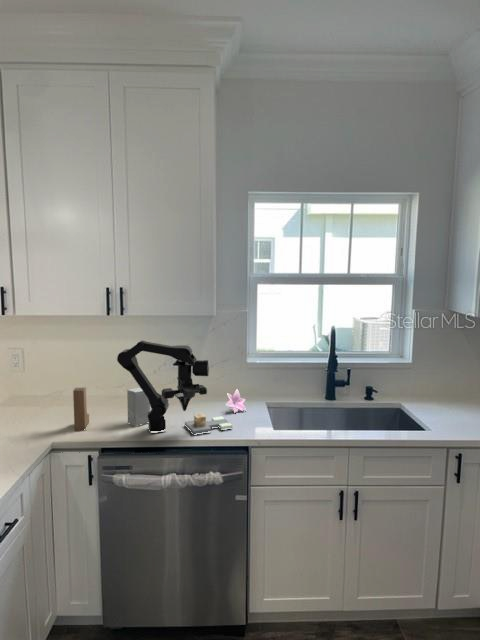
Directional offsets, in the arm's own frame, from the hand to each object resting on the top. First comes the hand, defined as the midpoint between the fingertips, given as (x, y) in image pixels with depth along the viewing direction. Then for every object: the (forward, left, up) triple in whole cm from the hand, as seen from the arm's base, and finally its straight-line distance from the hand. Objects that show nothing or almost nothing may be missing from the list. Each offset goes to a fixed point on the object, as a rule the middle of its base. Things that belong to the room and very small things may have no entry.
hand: (184, 410), depth 188 cm
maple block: (+7, 0, -7) cm, 10 cm away
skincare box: (-16, +17, -10) cm, 25 cm away
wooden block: (-40, +22, -10) cm, 47 cm away
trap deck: (+11, 0, -9) cm, 14 cm away
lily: (+31, +15, -10) cm, 36 cm away
